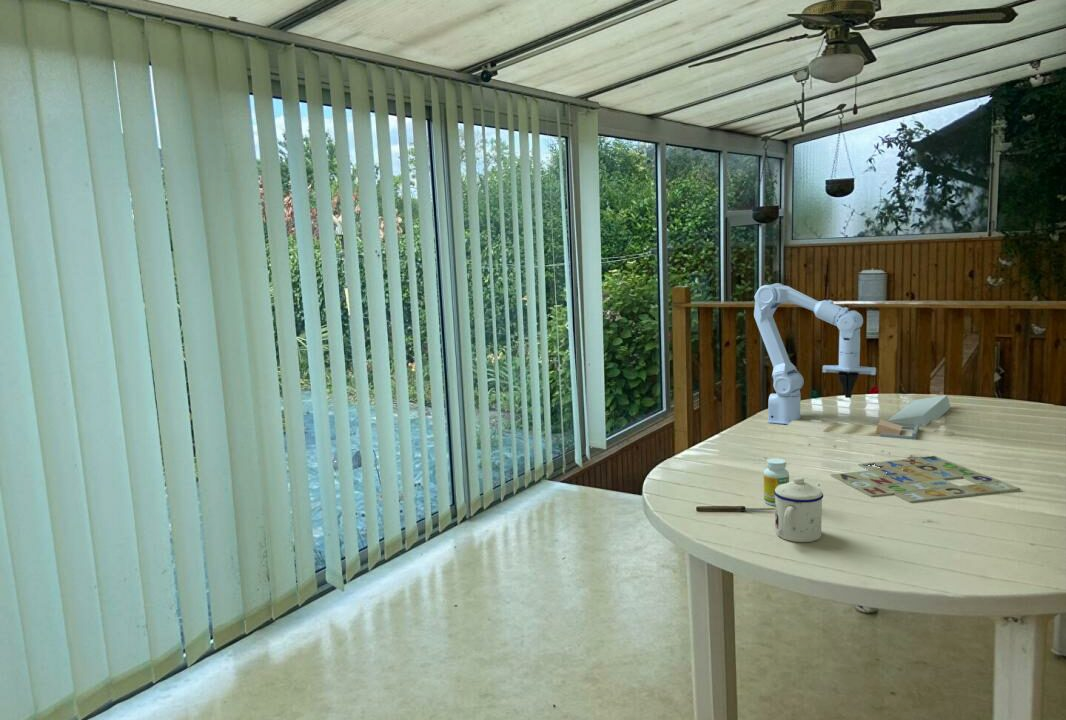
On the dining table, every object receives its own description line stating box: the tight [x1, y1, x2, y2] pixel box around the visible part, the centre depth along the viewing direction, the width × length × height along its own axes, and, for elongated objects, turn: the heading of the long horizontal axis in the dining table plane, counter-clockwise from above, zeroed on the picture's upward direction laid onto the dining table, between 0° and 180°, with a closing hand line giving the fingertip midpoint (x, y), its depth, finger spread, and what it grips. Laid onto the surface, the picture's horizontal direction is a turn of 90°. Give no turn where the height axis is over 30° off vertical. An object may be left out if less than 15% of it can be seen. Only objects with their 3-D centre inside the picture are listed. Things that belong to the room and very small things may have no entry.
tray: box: [879, 424, 920, 441], centre depth 212 cm, size 9×12×3 cm
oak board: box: [823, 422, 880, 437], centre depth 218 cm, size 15×12×2 cm
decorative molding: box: [886, 394, 951, 427], centre depth 235 cm, size 34×5×10 cm
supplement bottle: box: [763, 457, 790, 507], centre depth 165 cm, size 5×5×10 cm
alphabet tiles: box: [830, 455, 1021, 504], centre depth 177 cm, size 33×28×1 cm
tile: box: [876, 419, 904, 435], centre depth 213 cm, size 6×6×2 cm
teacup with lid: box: [774, 476, 824, 543], centre depth 145 cm, size 12×9×12 cm
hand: (848, 397), depth 222 cm, fingers closed
